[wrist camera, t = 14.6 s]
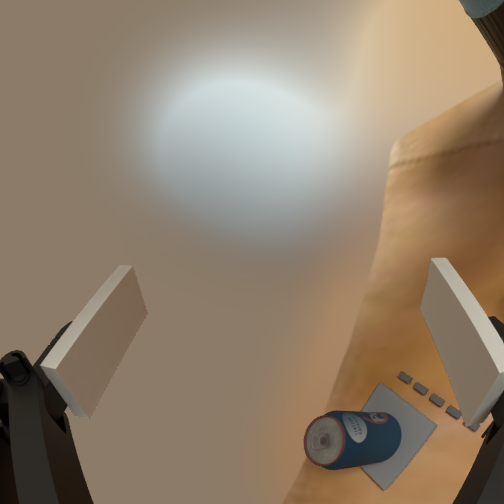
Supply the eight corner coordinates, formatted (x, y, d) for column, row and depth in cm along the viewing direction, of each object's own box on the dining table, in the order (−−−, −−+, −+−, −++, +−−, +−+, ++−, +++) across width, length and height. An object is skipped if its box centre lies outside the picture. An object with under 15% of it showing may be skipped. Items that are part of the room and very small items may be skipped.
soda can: (403, 406, 34) (346, 404, 28) (408, 457, 30) (350, 469, 24) (361, 417, 38) (298, 415, 33) (363, 464, 34) (299, 472, 29)
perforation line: (402, 371, 37) (401, 371, 37) (480, 425, 25) (479, 425, 24) (399, 376, 37) (398, 376, 37) (476, 431, 25) (475, 431, 24)
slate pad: (381, 382, 39) (379, 382, 39) (437, 425, 29) (436, 425, 29) (340, 442, 40) (338, 443, 39) (386, 489, 30) (384, 490, 30)
